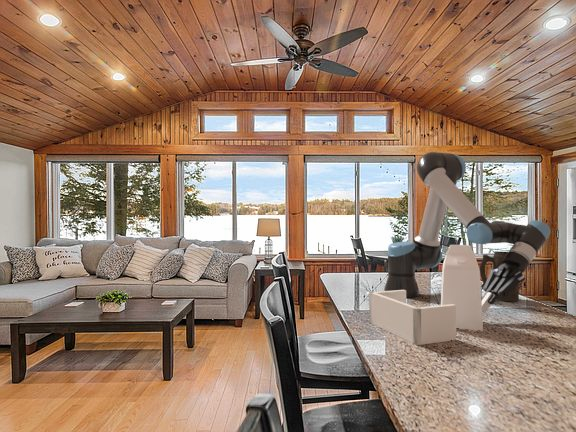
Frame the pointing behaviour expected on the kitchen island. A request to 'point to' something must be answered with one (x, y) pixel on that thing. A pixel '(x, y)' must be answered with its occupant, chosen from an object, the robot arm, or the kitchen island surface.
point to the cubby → (412, 318)
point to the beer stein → (497, 261)
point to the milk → (462, 286)
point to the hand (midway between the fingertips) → (481, 309)
